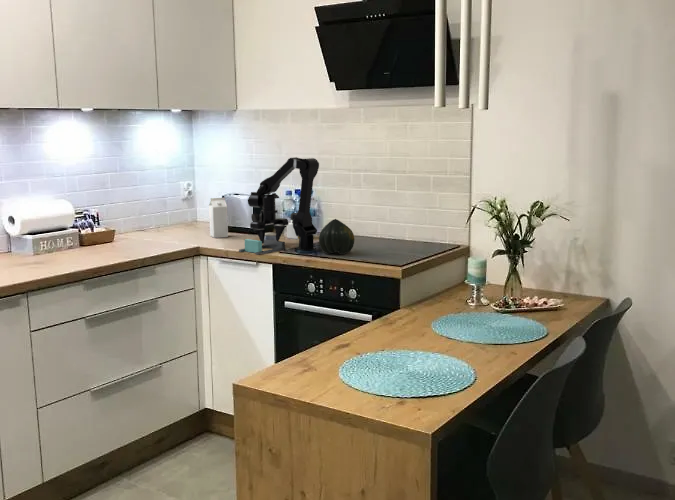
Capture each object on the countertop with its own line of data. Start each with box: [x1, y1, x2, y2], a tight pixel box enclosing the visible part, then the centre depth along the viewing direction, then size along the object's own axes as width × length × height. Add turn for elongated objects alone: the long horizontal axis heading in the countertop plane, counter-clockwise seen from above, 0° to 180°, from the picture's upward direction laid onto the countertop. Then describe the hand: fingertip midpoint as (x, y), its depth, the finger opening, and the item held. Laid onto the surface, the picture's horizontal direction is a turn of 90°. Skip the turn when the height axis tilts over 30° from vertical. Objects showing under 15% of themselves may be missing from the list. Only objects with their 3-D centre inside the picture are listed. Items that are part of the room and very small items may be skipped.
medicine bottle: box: [286, 212, 299, 240], centre depth 355 cm, size 7×7×12 cm
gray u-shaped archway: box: [238, 239, 286, 256], centre depth 320 cm, size 16×12×4 cm
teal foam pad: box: [244, 238, 263, 254], centre depth 316 cm, size 2×9×5 cm, turn 48°
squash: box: [318, 218, 355, 255], centre depth 313 cm, size 14×15×15 cm
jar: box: [264, 232, 276, 241], centre depth 335 cm, size 6×6×5 cm
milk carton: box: [208, 197, 229, 239], centre depth 360 cm, size 7×7×19 cm
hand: (269, 242), depth 335 cm, fingers open, 9 cm apart
